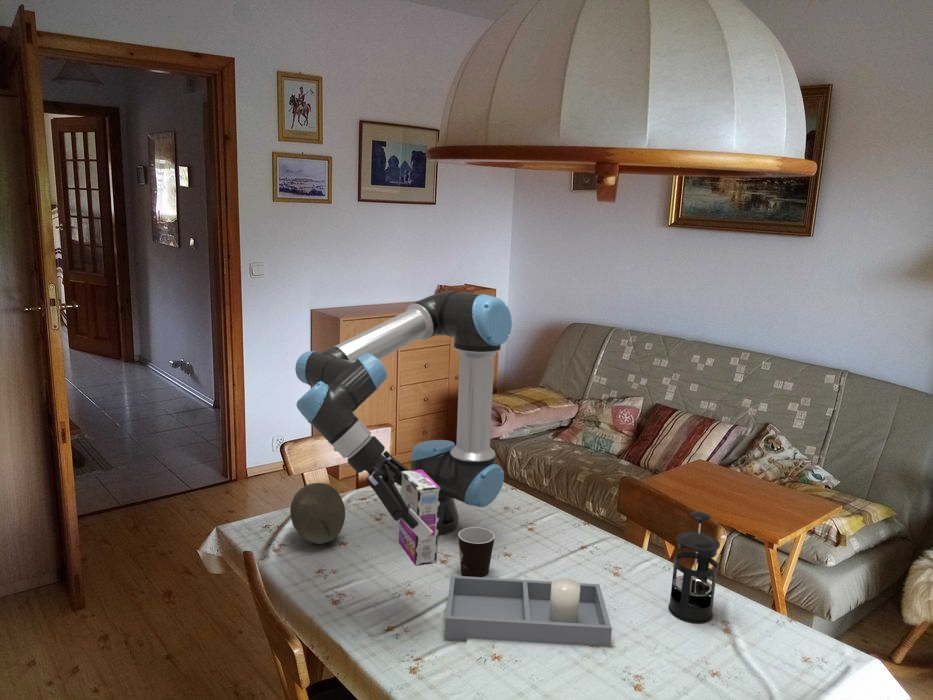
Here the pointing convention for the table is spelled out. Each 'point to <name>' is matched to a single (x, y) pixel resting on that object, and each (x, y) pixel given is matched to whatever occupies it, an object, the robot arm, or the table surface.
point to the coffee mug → (475, 551)
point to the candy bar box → (425, 503)
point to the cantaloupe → (318, 513)
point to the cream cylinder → (564, 600)
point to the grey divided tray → (521, 612)
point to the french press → (694, 575)
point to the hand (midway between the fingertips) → (431, 522)
